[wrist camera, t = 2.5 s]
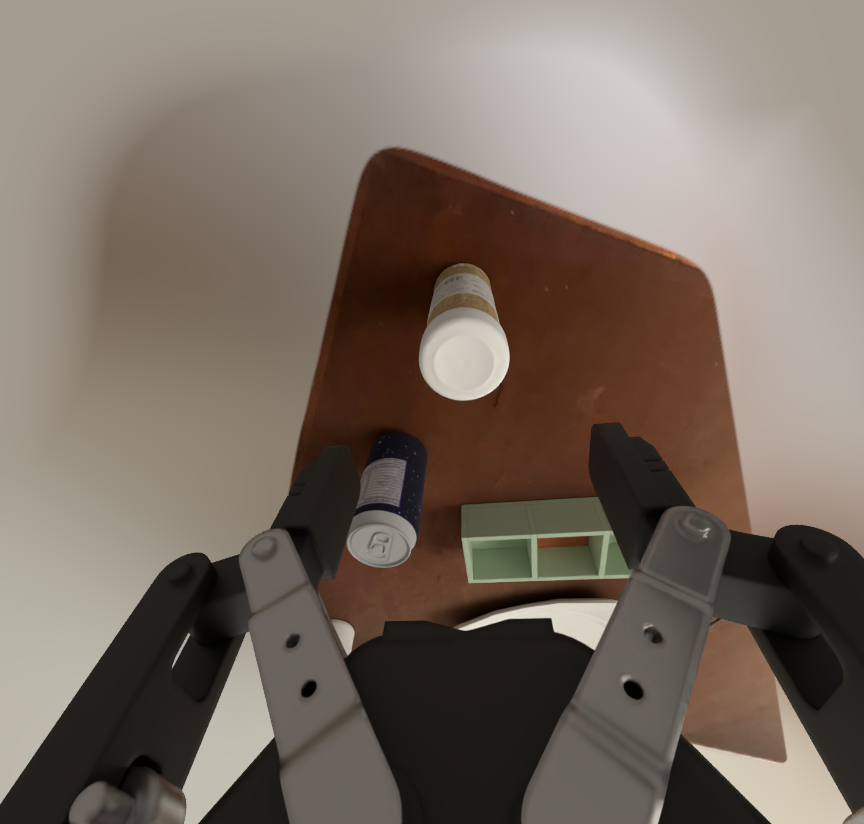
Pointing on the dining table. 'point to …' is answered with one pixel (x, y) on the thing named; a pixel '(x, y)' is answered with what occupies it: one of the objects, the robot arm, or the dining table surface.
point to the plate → (558, 617)
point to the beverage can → (389, 501)
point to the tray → (540, 541)
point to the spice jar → (463, 336)
